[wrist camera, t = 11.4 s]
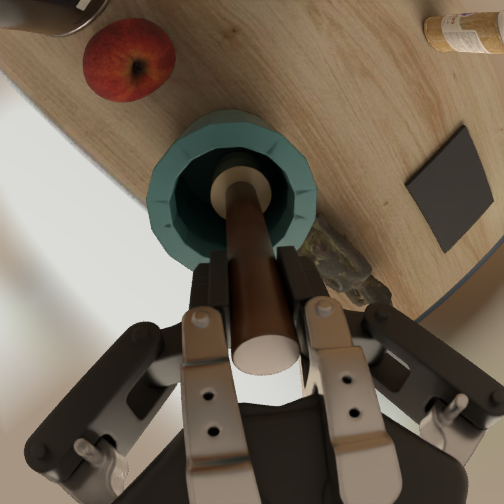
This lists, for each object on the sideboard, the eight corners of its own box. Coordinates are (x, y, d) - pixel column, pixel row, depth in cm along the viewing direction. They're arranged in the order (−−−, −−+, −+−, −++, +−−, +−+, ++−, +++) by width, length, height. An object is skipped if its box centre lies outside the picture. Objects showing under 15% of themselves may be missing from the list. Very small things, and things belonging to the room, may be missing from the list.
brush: (202, 178, 25) (168, 361, 9) (236, 141, 23) (267, 277, 7) (239, 208, 26) (266, 403, 10) (273, 174, 25) (359, 343, 9)
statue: (265, 225, 34) (375, 311, 38) (258, 249, 29) (380, 340, 33) (300, 186, 31) (409, 285, 35) (300, 205, 26) (419, 313, 30)
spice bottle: (434, 11, 18) (521, 3, 7) (455, 42, 20) (542, 48, 9) (415, 27, 20) (507, 20, 8) (438, 59, 22) (530, 69, 10)
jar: (156, 166, 26) (117, 219, 16) (225, 88, 23) (226, 84, 13) (232, 225, 31) (238, 302, 20) (301, 157, 27) (348, 203, 17)
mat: (404, 184, 30) (407, 186, 29) (462, 124, 26) (465, 125, 25) (443, 251, 36) (445, 253, 35) (491, 199, 32) (494, 201, 31)
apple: (135, 116, 24) (104, 128, 17) (88, 66, 20) (45, 63, 13) (196, 64, 22) (185, 53, 15) (146, 12, 18) (118, -12, 11)
